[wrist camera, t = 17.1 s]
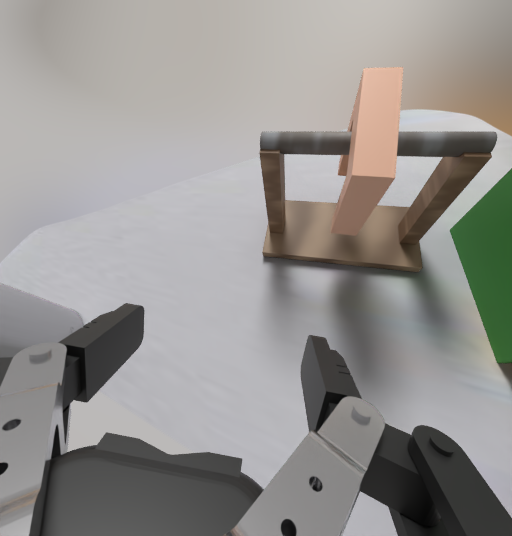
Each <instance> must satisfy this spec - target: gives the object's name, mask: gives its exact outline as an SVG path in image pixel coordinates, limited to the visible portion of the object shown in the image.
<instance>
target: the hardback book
mask: <svg viewBox="0 0 512 536" xmlns="http://www.w3.org/2000/svg"><path fill="white" fill-rule="evenodd" d="M450 232H451V235H452V238H453V241H454V244H455V246H456V249H457V252H458V255H459V258H460V260H461V263H462V266H463V269H464V272H465V274H466V277H467V280H468V283H469V286H470V288H471V291H472V294H473V297H474V300H475V302H476V305H477V308H478V311H479V314H480V316H481V319H482V322H483V325H484V328H485V330H486V333H487V336H488V339H489V342H490V344H491V347H492V350H493V353H494V356H495V358H496V361H497V363H512V169H511V170H510V171H509V172H508V173H507V174H506V175H505V176H504V177H503V178H502V179H501V180H500V181H499V182H498V183H497V184H496V185H495V186H494V187H493V188H492V189H491V190H490V191H489V192H488V193H487V194H486V195H485V196H484V197H483V198H482V199H481V200H480V201H479V202H478V203H477V204H476V205H474V206H473V207H472V208H471V209H470V210H469V211H468V212H467V213H466V214H465V215H464V216H463V217H462V218H461V219H460V220H459V221H458V222H457V223H456V224H455V225H454V226H453V227H452V228H451V229H450Z"/></svg>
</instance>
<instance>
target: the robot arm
mask: <svg viewBox="0 0 512 536" xmlns="http://www.w3.org/2000/svg"><path fill="white" fill-rule="evenodd" d="M143 334H144V308H143V306H139V305H134V304H128V303H126V304H124V305H122V306H121V307H119V308H118V309H116V310H115V311H111V312H109V313H106V314H103V315H100V316H99V317H97V318H95V319H94V320H92V321H91V323H88V324H86V325H84V326H83V322H82V319H81V317H80V315H79V314H78V313H77V312H76V311H74V310H72V309H69V308H67V307H64V306H61V305H58V304H56V303H53V302H50V301H48V300H45V299H43V298H40V297H37V296H34V295H32V294H29V293H26V292H24V291H21V290H18V289H15V288H13V287H10V286H7V285H4V284H2V283H0V536H342V534H343V532H344V529H345V527H346V524H347V522H348V520H349V517H350V515H351V512H352V510H353V507H354V505H355V502H356V500H357V498H358V495H359V493H360V491H361V492H363V493H365V494H367V495H368V496H370V497H372V498H374V499H376V500H377V501H379V502H381V503H383V504H385V505H387V506H388V507H389V510H390V513H391V516H392V519H393V522H394V525H395V528H396V531H397V534H398V536H512V518H511V516H510V515H509V514H508V512H507V511H506V509H505V508H504V507H503V505H502V504H501V502H500V501H499V500H498V498H497V497H496V495H495V494H494V493H493V491H492V490H491V488H490V487H489V486H488V484H487V483H486V481H485V480H484V479H483V477H482V476H481V474H480V473H479V472H478V470H477V469H476V467H475V466H474V465H473V463H472V462H471V460H470V459H469V458H468V456H467V455H466V453H465V452H464V451H463V450H462V448H461V447H460V446H459V445H458V444H457V443H456V442H455V441H453V440H452V439H451V438H450V437H448V436H447V435H445V434H444V433H442V432H440V431H439V430H437V429H434V428H432V427H429V426H424V425H420V426H417V427H415V428H414V430H413V432H412V435H410V434H408V433H405V432H403V431H401V430H398V429H396V428H394V427H392V426H389V425H387V424H385V422H384V419H383V417H382V415H381V414H380V412H379V411H378V410H377V409H376V408H375V407H374V406H373V405H371V404H370V403H368V402H367V401H365V400H363V399H362V398H361V396H360V394H359V392H358V389H357V387H356V385H355V383H354V381H353V378H352V376H351V375H350V372H349V369H348V368H347V365H346V363H345V361H344V358H343V357H342V356H341V355H340V354H339V353H338V352H337V351H336V350H330V348H329V345H328V343H327V340H326V338H323V337H318V336H312V335H309V336H308V339H307V343H306V347H305V351H304V356H303V360H302V364H301V381H302V388H303V394H304V401H305V407H306V414H307V420H308V427H309V433H308V435H307V436H306V437H305V438H304V440H303V441H302V442H301V444H300V445H299V446H298V447H297V449H296V450H295V451H294V452H293V454H292V455H291V456H290V458H289V459H288V460H287V461H286V463H285V464H284V465H283V466H282V468H281V469H280V470H279V472H278V473H277V474H276V475H275V477H274V478H273V479H272V480H271V482H270V483H269V484H268V486H267V487H266V488H265V489H264V490H263V489H262V487H261V486H260V485H258V484H257V483H256V482H255V481H254V480H253V479H251V478H250V477H248V476H247V475H245V474H243V473H242V472H241V464H242V459H241V458H236V457H230V456H225V455H220V454H215V453H210V452H205V453H191V454H179V455H170V454H166V453H165V452H163V451H161V450H159V449H157V448H155V447H154V446H152V445H150V444H148V443H146V442H144V441H142V440H140V439H137V438H132V437H127V436H122V435H117V434H112V433H106V434H105V435H104V436H103V438H102V439H101V440H100V442H99V443H98V445H94V446H88V447H83V448H79V449H76V450H72V451H70V452H67V449H68V438H69V427H70V416H71V405H70V403H71V402H72V401H73V400H76V401H81V402H88V401H89V400H90V399H91V398H92V397H93V396H94V395H95V394H96V393H97V391H98V390H99V389H100V388H101V387H102V386H103V385H104V384H105V383H106V382H107V381H108V380H109V379H110V378H111V377H112V376H113V374H114V373H115V372H116V371H117V370H118V369H119V368H120V367H121V366H122V365H123V364H124V363H125V362H126V361H127V360H128V359H129V357H130V356H131V355H132V354H133V353H134V352H135V351H136V350H137V349H138V348H139V346H140V345H141V343H142V340H143Z"/></svg>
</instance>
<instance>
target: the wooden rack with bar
mask: <svg viewBox="0 0 512 536" xmlns="http://www.w3.org/2000/svg"><path fill="white" fill-rule="evenodd" d="M351 134H352V132H262V133H261V138H260V148H261V149H260V160H261V168H262V176H263V183H264V191H265V199H266V207H267V215H268V227H267V232H266V237H265V242H264V247H263V256H266V257H276V258H286V259H295V260H305V261H315V262H325V263H334V264H344V265H354V266H363V267H373V268H383V269H392V270H402V271H412V272H419V271H420V270H421V269H422V260H421V252H420V244H419V240H420V239H421V238H422V237H423V236H424V234H425V233H426V232H427V231H428V230H429V229H430V228H431V226H432V225H433V224H434V223H435V222H436V221H437V220H438V218H439V217H440V216H441V215H442V214H443V213H444V211H445V210H446V209H447V208H448V207H449V206H450V205H451V203H452V202H453V201H454V200H455V199H456V198H457V196H458V195H459V194H460V193H461V192H462V191H463V190H464V188H465V187H466V186H467V185H468V184H469V183H470V181H471V180H472V179H473V178H474V177H475V176H476V175H477V173H478V172H479V171H480V170H481V169H482V168H483V166H484V165H485V164H486V163H487V162H488V161H489V160H490V158H491V157H492V156H491V152H492V150H493V148H494V147H495V144H496V141H497V134H496V132H398V146H397V156H423V157H443V158H442V160H441V161H440V163H439V164H438V166H437V167H436V169H435V170H434V172H433V173H432V175H431V176H430V178H429V179H428V181H427V182H426V184H425V185H424V187H423V188H422V190H421V191H420V193H419V195H418V196H417V198H416V199H415V201H414V202H413V204H412V205H411V207H396V206H378V205H377V206H376V207H375V208H374V210H373V211H372V213H371V214H370V216H369V217H368V219H367V220H366V222H365V223H364V225H363V226H362V228H361V229H360V231H359V232H358V234H357V235H356V236H354V235H344V234H335V233H331V226H332V218H333V215H334V212H335V209H336V206H337V203H324V202H307V201H289V200H285V173H284V154H313V155H349V151H350V143H351Z"/></svg>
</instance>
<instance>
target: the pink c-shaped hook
mask: <svg viewBox="0 0 512 536" xmlns="http://www.w3.org/2000/svg"><path fill="white" fill-rule="evenodd" d="M402 77H403V67H391V68H364V70H363V73H362V77H361V81H360V85H359V89H358V93H357V96H356V100H355V104H354V108H353V112H352V116H351V119H350V123H349V127H348V131H347V132H352V134H351V143H350V151H349V155H341V158H340V162H339V170H338V175H341V176H346V179H345V182H344V185H343V188H342V191H341V194H340V197H339V200H338V203H337V206H336V209H335V212H334V215H333V218H332V226H331V233H335V234H344V235H354V236H356V235H357V234H358V232H359V231H360V229H361V228H362V226H363V225H364V223H365V222H366V220H367V219H368V217H369V216H370V214H371V213H372V211H373V210H374V208H375V207H376V206H377V204H378V203H379V201H380V200H381V198H382V197H383V195H384V194H385V192H386V191H387V189H388V188H389V186H390V185H391V183H392V182H393V180H394V179H395V173H396V160H397V146H398V132H399V118H400V105H401V91H402Z"/></svg>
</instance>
